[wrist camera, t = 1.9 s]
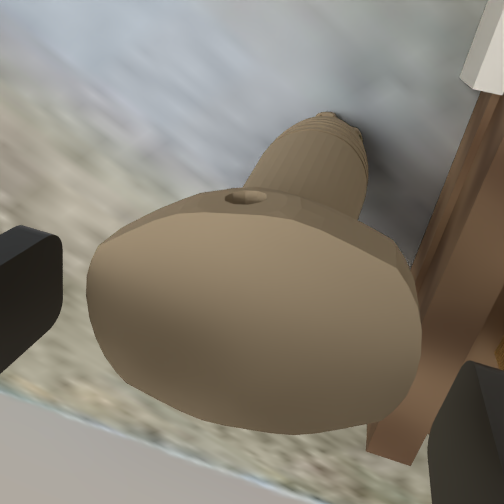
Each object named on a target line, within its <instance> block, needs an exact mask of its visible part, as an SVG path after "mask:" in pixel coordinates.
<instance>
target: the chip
mask: <svg viewBox="0 0 504 504" xmlns="http://www.w3.org/2000/svg"><path fill="white" fill-rule="evenodd" d="M494 354H495V357H496V360H497V364H498V367H499V369H501V370H504V336H503V338H502V339H501V341H500V343H499V345H498V347H497V348H496V350H495V352H494Z"/></svg>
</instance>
